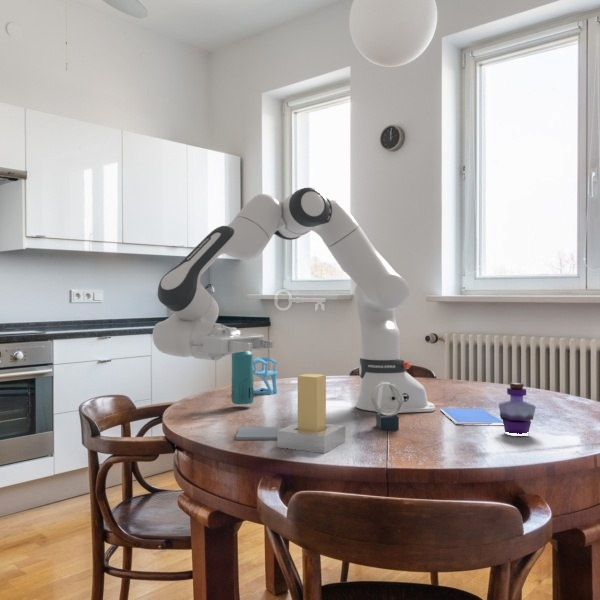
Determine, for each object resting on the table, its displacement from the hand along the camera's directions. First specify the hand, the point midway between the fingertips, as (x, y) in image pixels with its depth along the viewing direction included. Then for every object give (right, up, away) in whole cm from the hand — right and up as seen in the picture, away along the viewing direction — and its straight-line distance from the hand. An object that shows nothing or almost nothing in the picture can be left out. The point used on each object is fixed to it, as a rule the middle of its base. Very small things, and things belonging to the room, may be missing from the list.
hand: (261, 345), depth 131 cm
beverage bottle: (-8, -21, +36) cm, 42 cm away
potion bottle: (+59, -21, +3) cm, 63 cm away
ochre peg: (+11, -21, -6) cm, 25 cm away
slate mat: (-1, -21, +3) cm, 21 cm away
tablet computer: (+54, -22, +22) cm, 62 cm away
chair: (-3, -21, +62) cm, 65 cm away
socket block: (+11, -21, -6) cm, 24 cm away
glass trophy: (+30, -21, +10) cm, 38 cm away
